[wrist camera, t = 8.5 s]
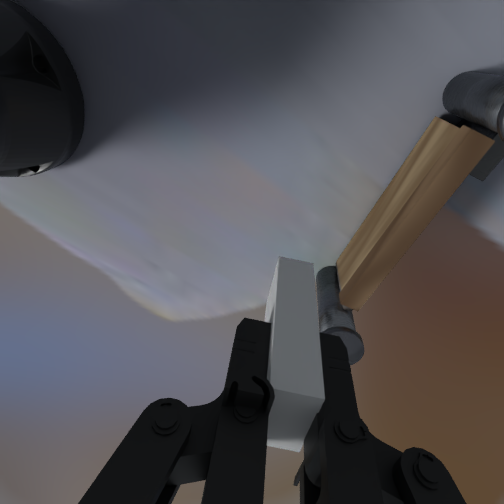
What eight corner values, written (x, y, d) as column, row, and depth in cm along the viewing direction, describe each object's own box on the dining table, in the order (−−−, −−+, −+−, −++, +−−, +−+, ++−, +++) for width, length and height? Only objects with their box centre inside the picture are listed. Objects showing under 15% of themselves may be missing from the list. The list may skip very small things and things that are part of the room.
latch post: (406, 135, 30) (454, 173, 21) (461, 56, 26) (546, 59, 17) (452, 159, 30) (518, 206, 21) (510, 84, 27) (619, 101, 18)
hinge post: (306, 283, 39) (307, 356, 30) (323, 257, 37) (331, 326, 28) (336, 297, 39) (347, 372, 30) (356, 272, 37) (373, 344, 28)
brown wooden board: (331, 265, 37) (337, 308, 31) (435, 112, 28) (472, 129, 22) (345, 271, 37) (354, 315, 31) (453, 121, 28) (495, 141, 22)
